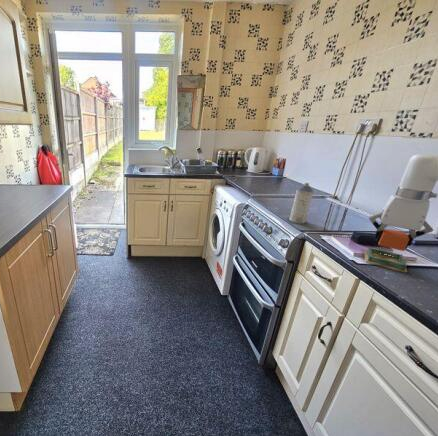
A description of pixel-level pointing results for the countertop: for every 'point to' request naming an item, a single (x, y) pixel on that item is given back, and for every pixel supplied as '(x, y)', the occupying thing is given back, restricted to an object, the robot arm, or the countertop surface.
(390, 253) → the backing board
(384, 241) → the orange block
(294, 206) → the aerosol can
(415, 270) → the countertop surface
